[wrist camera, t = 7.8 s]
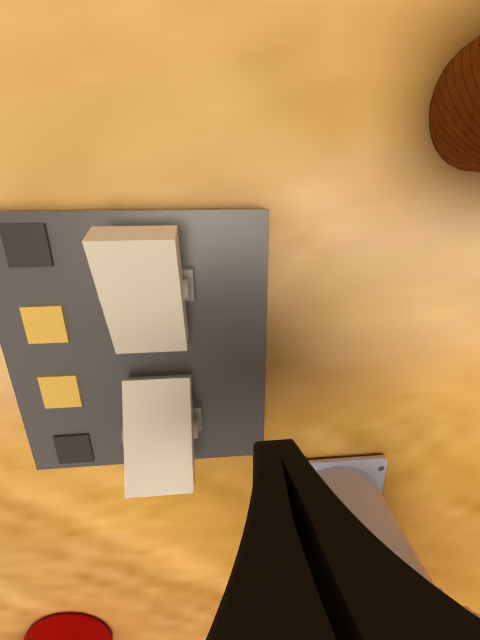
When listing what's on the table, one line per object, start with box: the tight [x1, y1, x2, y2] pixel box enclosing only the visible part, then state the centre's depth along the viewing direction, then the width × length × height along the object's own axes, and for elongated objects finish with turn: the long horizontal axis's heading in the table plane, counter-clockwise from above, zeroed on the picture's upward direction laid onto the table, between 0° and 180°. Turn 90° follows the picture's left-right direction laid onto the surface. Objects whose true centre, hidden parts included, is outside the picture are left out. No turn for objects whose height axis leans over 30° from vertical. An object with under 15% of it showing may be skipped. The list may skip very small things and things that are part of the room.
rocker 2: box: [121, 374, 198, 498], centre depth 18 cm, size 6×4×2 cm, turn 1°
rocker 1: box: [82, 225, 189, 354], centre depth 15 cm, size 6×4×2 cm, turn 179°
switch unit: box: [0, 208, 269, 470], centre depth 19 cm, size 15×14×3 cm
